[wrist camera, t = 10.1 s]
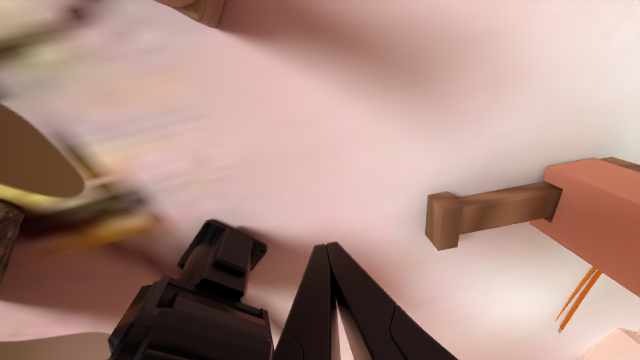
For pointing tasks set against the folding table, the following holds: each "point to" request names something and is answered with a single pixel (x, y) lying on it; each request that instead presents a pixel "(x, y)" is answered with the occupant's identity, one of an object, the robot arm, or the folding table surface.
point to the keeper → (598, 217)
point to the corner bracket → (616, 347)
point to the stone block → (8, 232)
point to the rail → (493, 209)
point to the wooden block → (198, 10)
